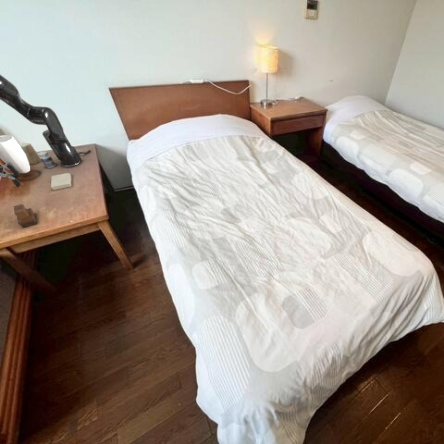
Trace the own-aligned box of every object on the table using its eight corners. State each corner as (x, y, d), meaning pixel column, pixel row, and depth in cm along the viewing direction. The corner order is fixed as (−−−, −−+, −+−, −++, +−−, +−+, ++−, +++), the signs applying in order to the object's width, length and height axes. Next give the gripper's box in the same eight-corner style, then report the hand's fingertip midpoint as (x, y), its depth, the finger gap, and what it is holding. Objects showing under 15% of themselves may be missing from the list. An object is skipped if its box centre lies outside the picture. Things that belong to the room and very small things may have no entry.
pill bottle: (48, 168, 145) (39, 155, 139) (44, 166, 147) (35, 153, 141) (57, 165, 148) (49, 152, 142) (53, 163, 150) (45, 150, 144)
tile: (53, 179, 138) (51, 176, 137) (71, 175, 142) (69, 172, 141) (53, 190, 131) (50, 187, 130) (71, 186, 135) (69, 183, 134)
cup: (39, 168, 144) (13, 133, 130) (41, 177, 139) (14, 140, 124) (15, 174, 139) (-15, 137, 124) (16, 182, 133) (-15, 145, 119)
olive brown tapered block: (35, 164, 147) (23, 146, 140) (28, 163, 147) (15, 146, 140) (42, 159, 151) (30, 142, 144) (35, 159, 151) (22, 142, 144)
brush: (21, 217, 115) (10, 205, 110) (35, 213, 118) (25, 201, 113) (23, 228, 111) (11, 215, 106) (37, 223, 113) (26, 211, 108)
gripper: (0, 146, 100) (26, 180, 111) (-52, 155, 92) (-19, 190, 103) (1, 153, 96) (28, 188, 107) (-54, 163, 88) (-19, 199, 99)
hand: (5, 189), depth 105 cm, fingers open, 8 cm apart
